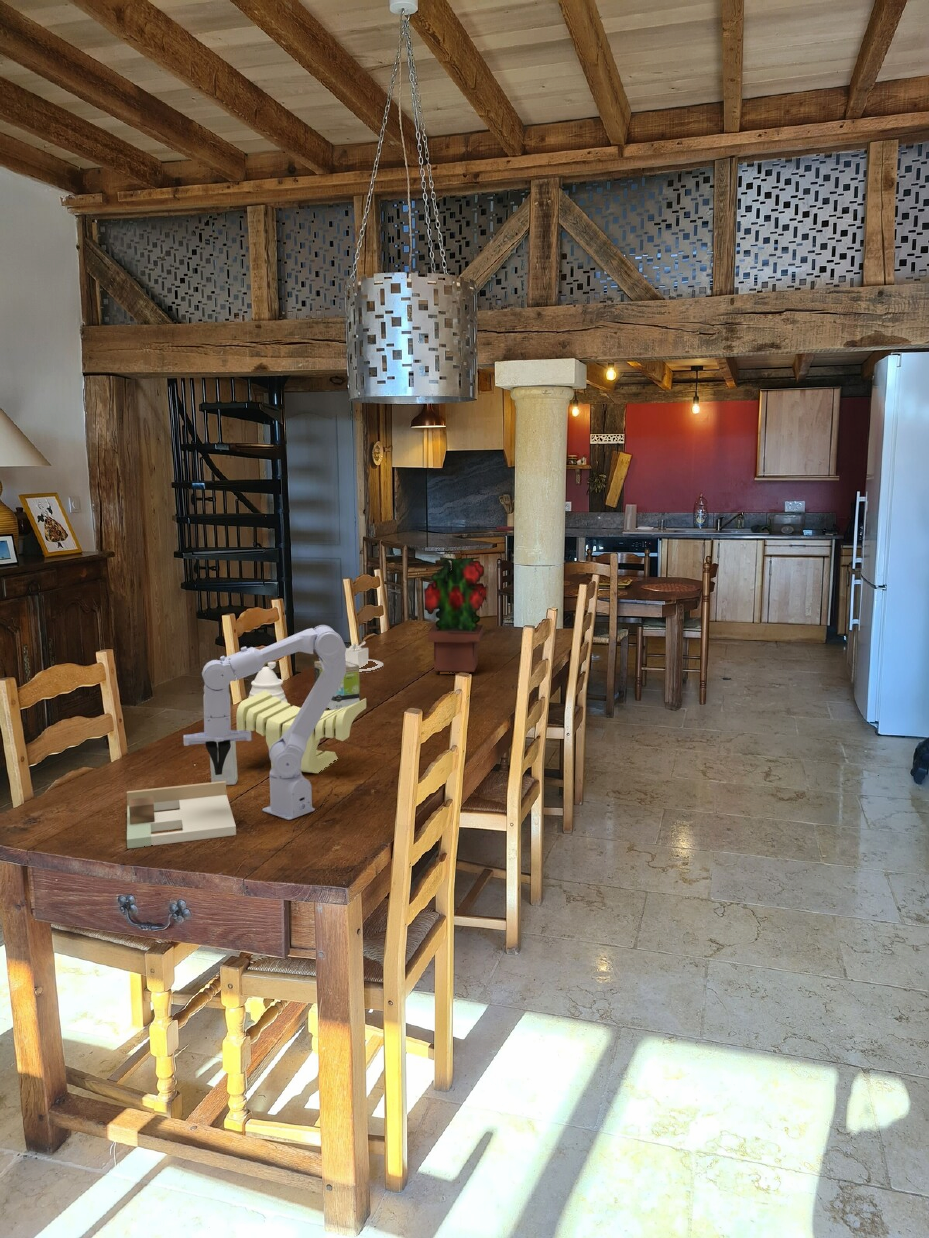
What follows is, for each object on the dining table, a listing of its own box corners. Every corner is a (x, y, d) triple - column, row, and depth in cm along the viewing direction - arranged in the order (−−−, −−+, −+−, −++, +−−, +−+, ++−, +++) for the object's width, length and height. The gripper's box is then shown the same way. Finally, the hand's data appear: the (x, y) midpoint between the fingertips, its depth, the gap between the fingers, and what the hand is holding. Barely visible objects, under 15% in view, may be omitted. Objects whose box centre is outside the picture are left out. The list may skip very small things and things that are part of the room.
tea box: (360, 708, 303) (360, 664, 301) (333, 712, 298) (332, 668, 295) (340, 699, 316) (339, 657, 313) (314, 703, 310) (313, 660, 308)
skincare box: (238, 779, 231) (236, 733, 229) (235, 785, 227) (233, 738, 225) (213, 780, 231) (211, 734, 229) (210, 786, 226) (208, 739, 224)
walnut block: (154, 813, 202) (153, 796, 201) (154, 821, 197) (153, 804, 197) (130, 816, 200) (129, 799, 200) (130, 824, 196) (129, 806, 195)
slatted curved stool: (238, 769, 239) (235, 703, 236) (267, 752, 254) (265, 690, 252) (343, 780, 231) (342, 712, 228) (367, 761, 246) (366, 697, 243)
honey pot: (292, 713, 297) (291, 659, 294) (281, 723, 284) (279, 667, 281) (254, 711, 298) (252, 658, 295) (241, 722, 285) (239, 666, 282)
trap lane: (226, 800, 216) (225, 780, 215) (236, 834, 195) (235, 812, 195) (127, 812, 208) (126, 791, 208) (127, 848, 188) (126, 825, 187)
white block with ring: (392, 663, 378) (391, 636, 376) (369, 675, 354) (369, 647, 352) (337, 660, 384) (337, 633, 383) (311, 672, 361) (311, 644, 359)
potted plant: (486, 666, 370) (486, 556, 363) (481, 678, 348) (482, 561, 341) (432, 665, 372) (431, 556, 365) (424, 677, 350) (424, 561, 343)
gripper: (184, 721, 195) (185, 781, 197) (252, 716, 200) (253, 775, 202) (182, 713, 202) (183, 772, 204) (248, 709, 207) (249, 766, 209)
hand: (218, 773), depth 204 cm, fingers closed
